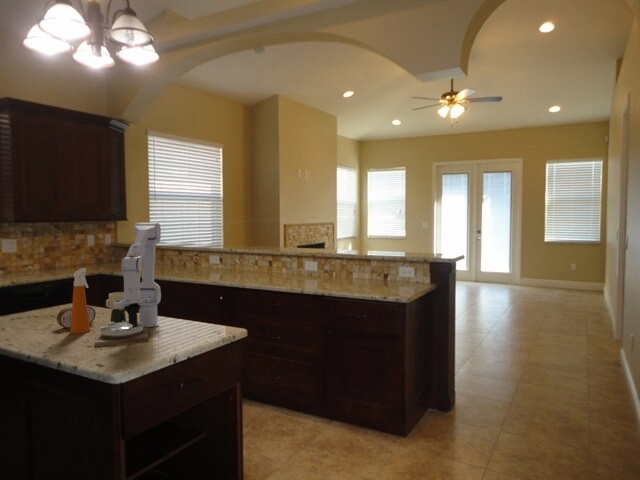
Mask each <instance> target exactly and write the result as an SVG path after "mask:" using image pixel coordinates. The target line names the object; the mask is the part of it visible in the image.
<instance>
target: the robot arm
mask: <svg viewBox="0 0 640 480" xmlns="http://www.w3.org/2000/svg"><path fill="white" fill-rule="evenodd" d="M161 233H162V228H161V224H160V222H157V221H155V222H135V223H134V225H133V234H134V235H135V236H134V237H135V240H134V243H133V244H132V245H130V247H129V248H128V251H127V254H126V256H125V257H124V258H122V259H121V263H120V264H121V265H120V266H121V267H120V268H121V273H122V277H123V292H124V300H122V301H119V302H115V303H114V308H120V307H124V308H123V309H124V310H125V311H126V313H127V314H128V319H127V320H129V324H136V315H137V314H138V317H139V319H138V320H139V321H138V323H139V322H143V326H147V328H151V327H159V326H160V325H159V320H158V305H159V304H160V303H161V300H162V299H161V298H162V293H161V292H162V291H161V286H160V285H159V284H158V283H157V282H155V265H156V249H157V244H158V243H160V242H161V236H162V235H161ZM141 271H142V278H141Z"/></svg>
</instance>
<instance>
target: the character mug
mask: <svg viewBox="0 0 640 480" xmlns="http://www.w3.org/2000/svg"><path fill="white" fill-rule="evenodd" d="M122 300H124V291H120V292H119V291H117V292H112V293H111V292H110V293H108V299H106V300H105V306H106V308H109V309H111V314H110V322H115V323H121V322H127V319H126V318H127V317H126V312H125V311H126V310H125V308H124V307H120V308H114V303H115V302H119V301H122Z"/></svg>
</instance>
